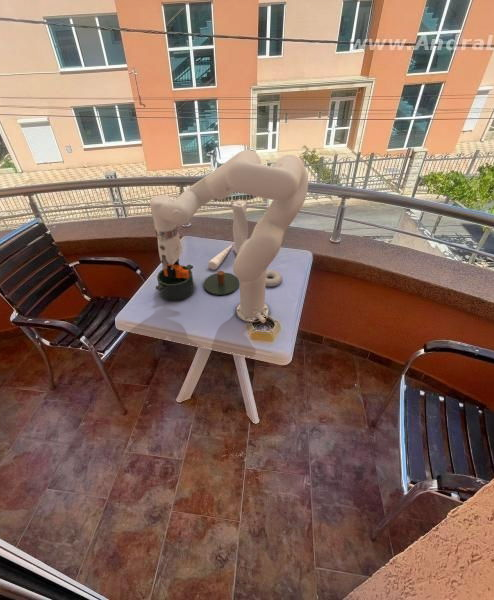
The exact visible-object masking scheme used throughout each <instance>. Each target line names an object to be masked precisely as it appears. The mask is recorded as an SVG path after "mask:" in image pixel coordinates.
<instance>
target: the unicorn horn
mask: <svg viewBox="0 0 494 600" xmlns="http://www.w3.org/2000/svg"><path fill="white" fill-rule="evenodd" d="M232 247H233V244H230V245H229V246H227V247H226V248H225V249H224V250H222V251H221V252H218V254H217V255H215V256H214V257H212V258H211V259H210V260H209V261H208V263H207V267H208V268H209V269H210V270H212V271H216V270H217V269H218V267H219V266H221V264H222V262H223V261H224V259H225V258H226V256H228V254H229V252H230V251H231V249H232Z"/></svg>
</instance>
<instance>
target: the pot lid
mask: <svg viewBox="0 0 494 600" xmlns="http://www.w3.org/2000/svg"><path fill="white" fill-rule="evenodd" d="M203 287H204V290H205V291H206V292H207V293H209V294H212V295H216V296H225V295H229V294H232V293H234V292H235V291H236V290H238V288H239V287H240V280H239V279H238V278H237V277H236V276H235V274H232V273H229V272H225V271H224V270H219V271H217V272H216V273H213V274H211V275H209V276H208V277H206V278H205V280H204V282H203Z"/></svg>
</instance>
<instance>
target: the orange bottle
mask: <svg viewBox="0 0 494 600" xmlns="http://www.w3.org/2000/svg"><path fill="white" fill-rule="evenodd" d="M168 265H169V266H171V265H170V264H168ZM181 265H182V264H179V265H174V264H173V267H174V268H175V273H176V277H175V278H188V277H189V270H186V269H183V266H184V265H183V266H181ZM162 270H163V271H164V274H165V276H168V273H167V269H163V268H162Z"/></svg>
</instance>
